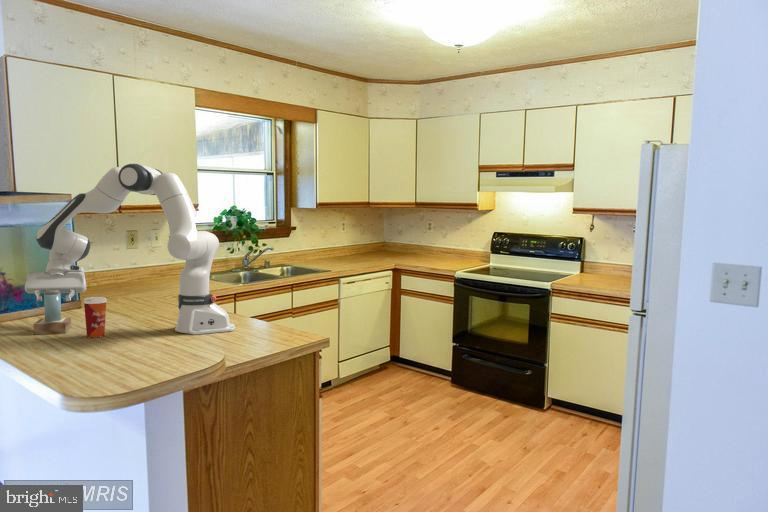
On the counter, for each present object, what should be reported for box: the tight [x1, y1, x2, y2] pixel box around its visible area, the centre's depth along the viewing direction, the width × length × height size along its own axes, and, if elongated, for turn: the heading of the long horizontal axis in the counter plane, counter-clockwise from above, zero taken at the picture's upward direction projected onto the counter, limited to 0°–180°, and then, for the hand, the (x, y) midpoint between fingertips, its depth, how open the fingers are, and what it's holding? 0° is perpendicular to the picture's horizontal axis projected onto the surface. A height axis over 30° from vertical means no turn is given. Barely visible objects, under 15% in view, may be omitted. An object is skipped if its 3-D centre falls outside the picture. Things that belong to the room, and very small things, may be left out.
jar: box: [43, 290, 62, 322], centre depth 193 cm, size 5×5×11 cm
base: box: [33, 317, 72, 336], centre depth 193 cm, size 10×10×4 cm
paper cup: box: [82, 296, 108, 338], centre depth 188 cm, size 8×8×14 cm
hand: (53, 300), depth 195 cm, fingers open, 8 cm apart
